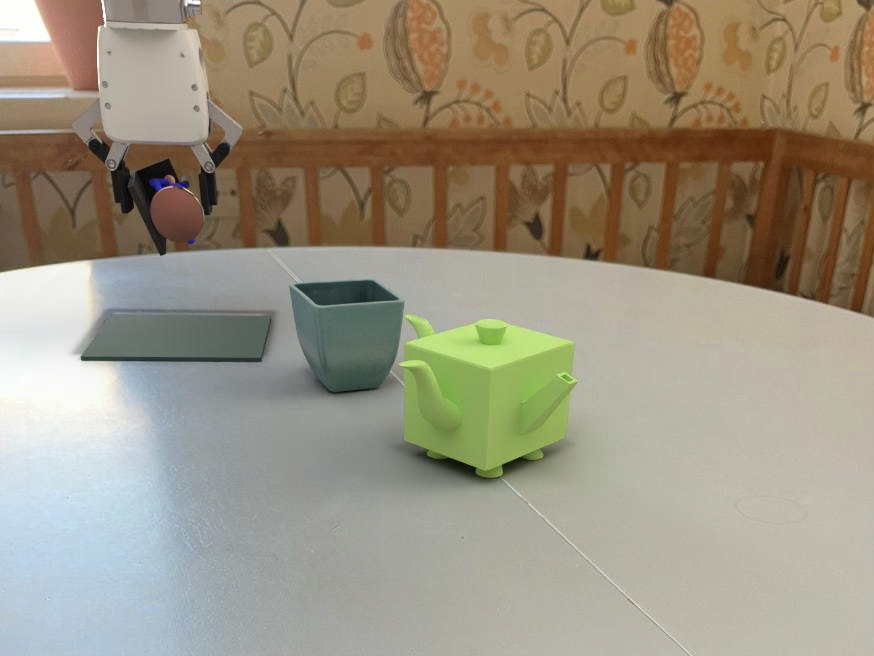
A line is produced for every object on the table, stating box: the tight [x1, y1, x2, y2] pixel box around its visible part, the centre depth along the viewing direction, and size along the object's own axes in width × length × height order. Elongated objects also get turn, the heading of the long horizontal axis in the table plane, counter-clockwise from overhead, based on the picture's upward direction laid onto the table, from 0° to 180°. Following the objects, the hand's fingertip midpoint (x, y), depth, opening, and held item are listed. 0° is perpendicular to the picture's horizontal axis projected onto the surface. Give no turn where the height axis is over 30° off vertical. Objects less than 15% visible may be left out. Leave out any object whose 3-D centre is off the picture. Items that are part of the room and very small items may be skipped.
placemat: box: [80, 313, 272, 362], centre depth 114 cm, size 18×16×1 cm
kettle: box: [398, 314, 579, 479], centre depth 86 cm, size 15×14×11 cm
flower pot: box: [288, 278, 406, 393], centre depth 101 cm, size 9×9×9 cm
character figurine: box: [128, 157, 205, 257], centre depth 107 cm, size 8×7×15 cm
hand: (167, 210), depth 107 cm, fingers closed on character figurine, 7 cm apart
